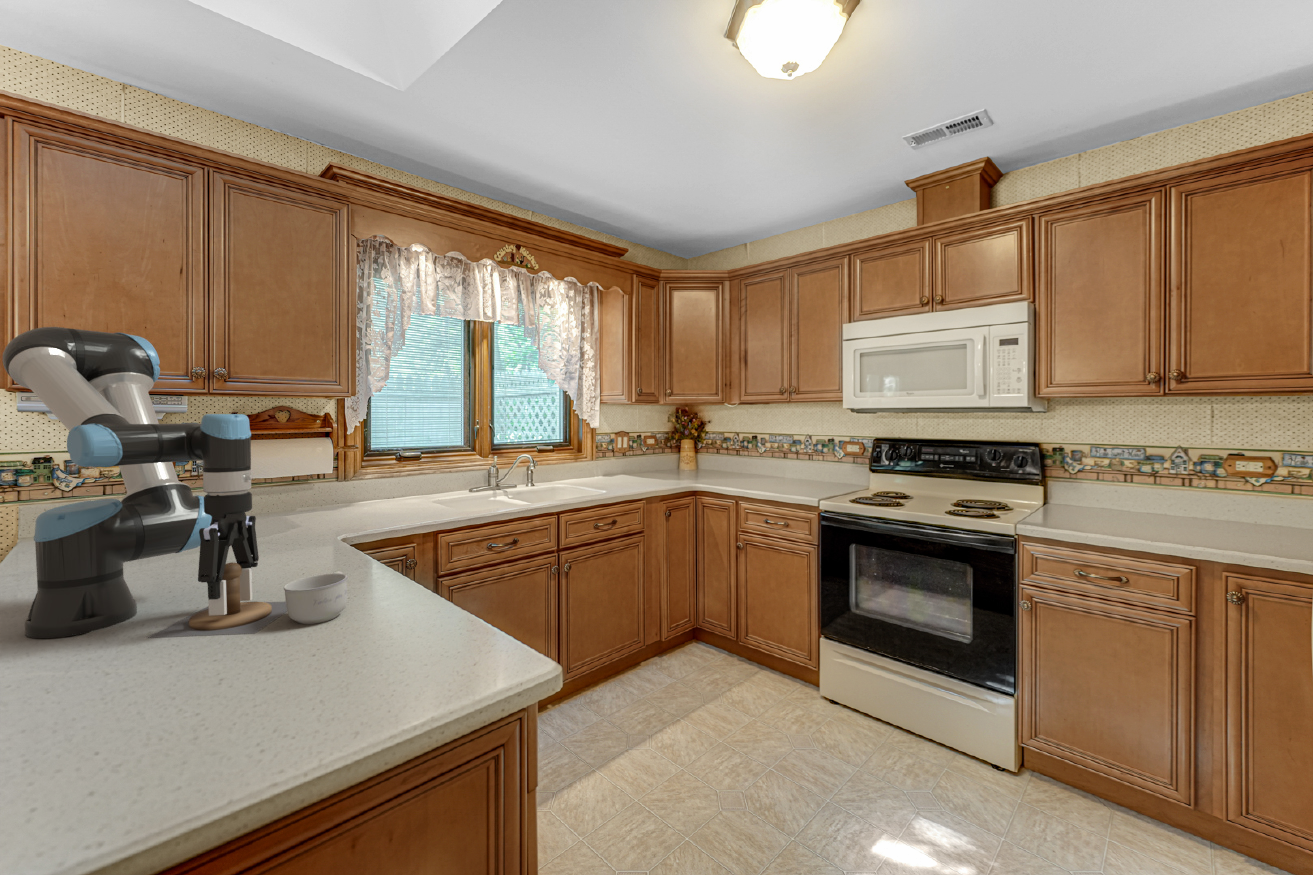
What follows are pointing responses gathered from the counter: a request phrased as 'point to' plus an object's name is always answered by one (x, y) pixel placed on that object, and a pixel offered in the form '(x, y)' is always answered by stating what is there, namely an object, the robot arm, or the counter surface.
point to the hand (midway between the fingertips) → (231, 606)
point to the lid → (231, 606)
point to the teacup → (316, 597)
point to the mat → (184, 630)
